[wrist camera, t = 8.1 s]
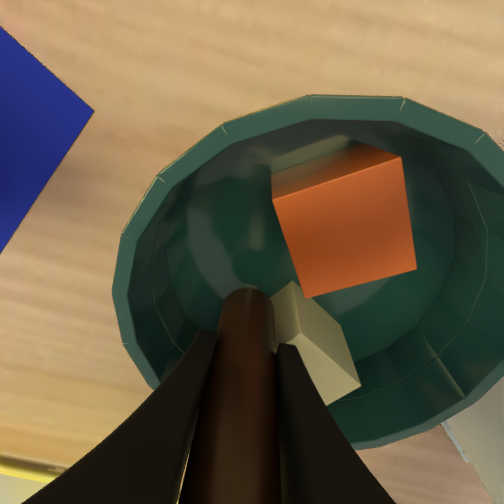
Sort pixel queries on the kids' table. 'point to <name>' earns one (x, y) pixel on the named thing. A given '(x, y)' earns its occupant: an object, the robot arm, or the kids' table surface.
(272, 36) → the kids' table surface
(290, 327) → the cream block
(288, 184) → the terracotta block
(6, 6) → the kids' table surface
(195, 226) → the bowl
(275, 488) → the dark brown cylinder
